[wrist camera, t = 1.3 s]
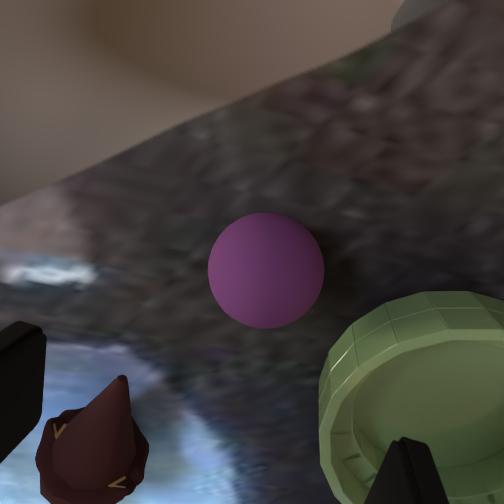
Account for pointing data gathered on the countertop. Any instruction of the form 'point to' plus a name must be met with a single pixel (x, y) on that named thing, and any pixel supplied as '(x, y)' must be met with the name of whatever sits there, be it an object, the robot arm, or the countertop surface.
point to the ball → (266, 270)
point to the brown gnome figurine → (93, 451)
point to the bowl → (418, 394)
